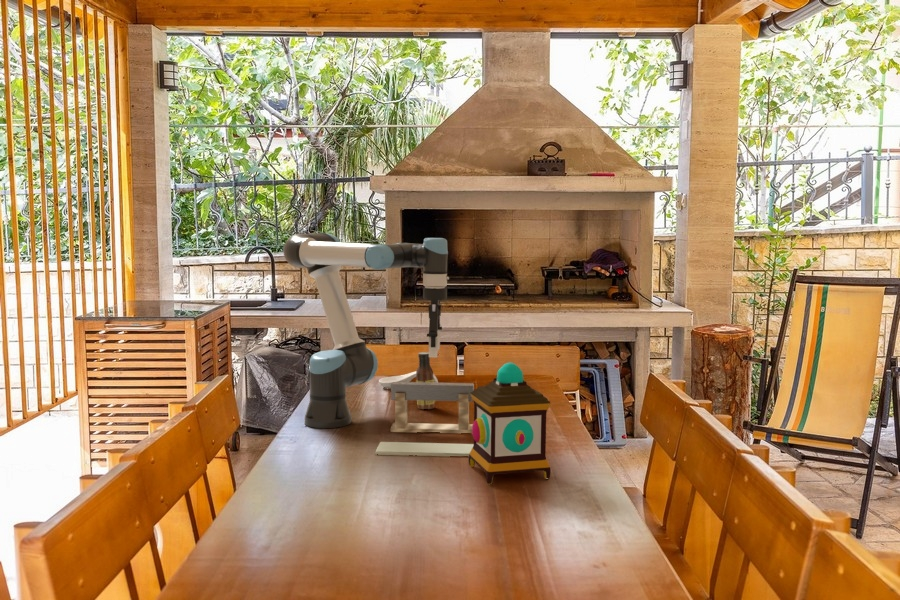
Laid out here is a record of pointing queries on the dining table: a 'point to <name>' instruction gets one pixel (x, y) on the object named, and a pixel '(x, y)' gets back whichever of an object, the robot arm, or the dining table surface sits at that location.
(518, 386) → the decorative lantern
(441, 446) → the mat
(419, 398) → the rail
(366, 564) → the dining table surface
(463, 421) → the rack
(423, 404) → the sauce bottle
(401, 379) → the spoon rest
